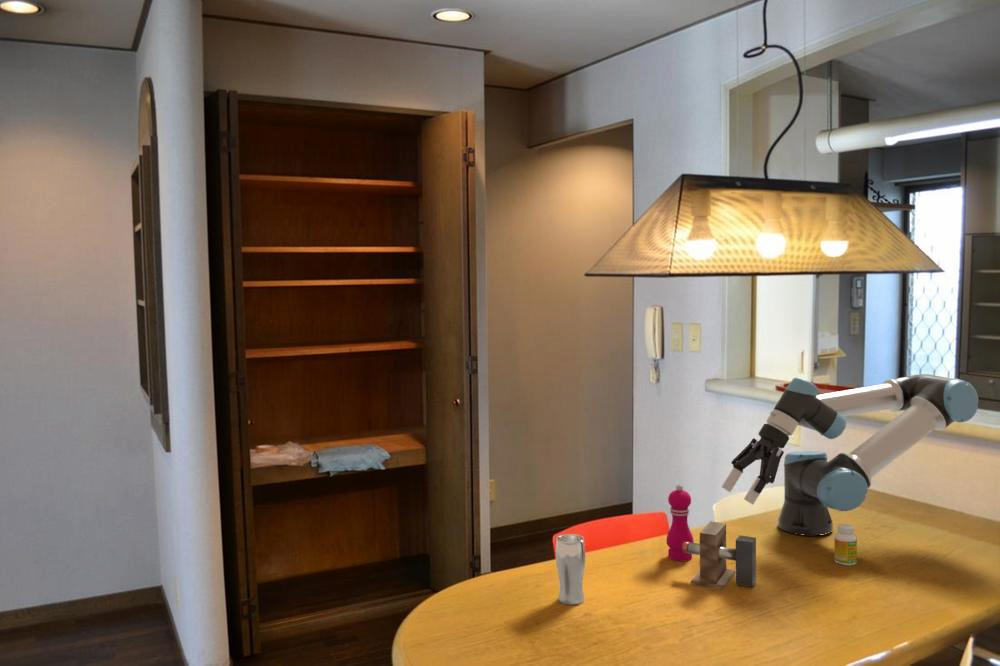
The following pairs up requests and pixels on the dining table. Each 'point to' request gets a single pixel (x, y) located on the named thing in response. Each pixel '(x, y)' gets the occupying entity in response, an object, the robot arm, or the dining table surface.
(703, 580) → the wooden arch frame
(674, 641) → the dining table surface
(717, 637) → the dining table surface
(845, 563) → the supplement bottle
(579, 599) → the beer glass
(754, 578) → the metal rod with plate
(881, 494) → the dining table surface
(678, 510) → the pepper mill
